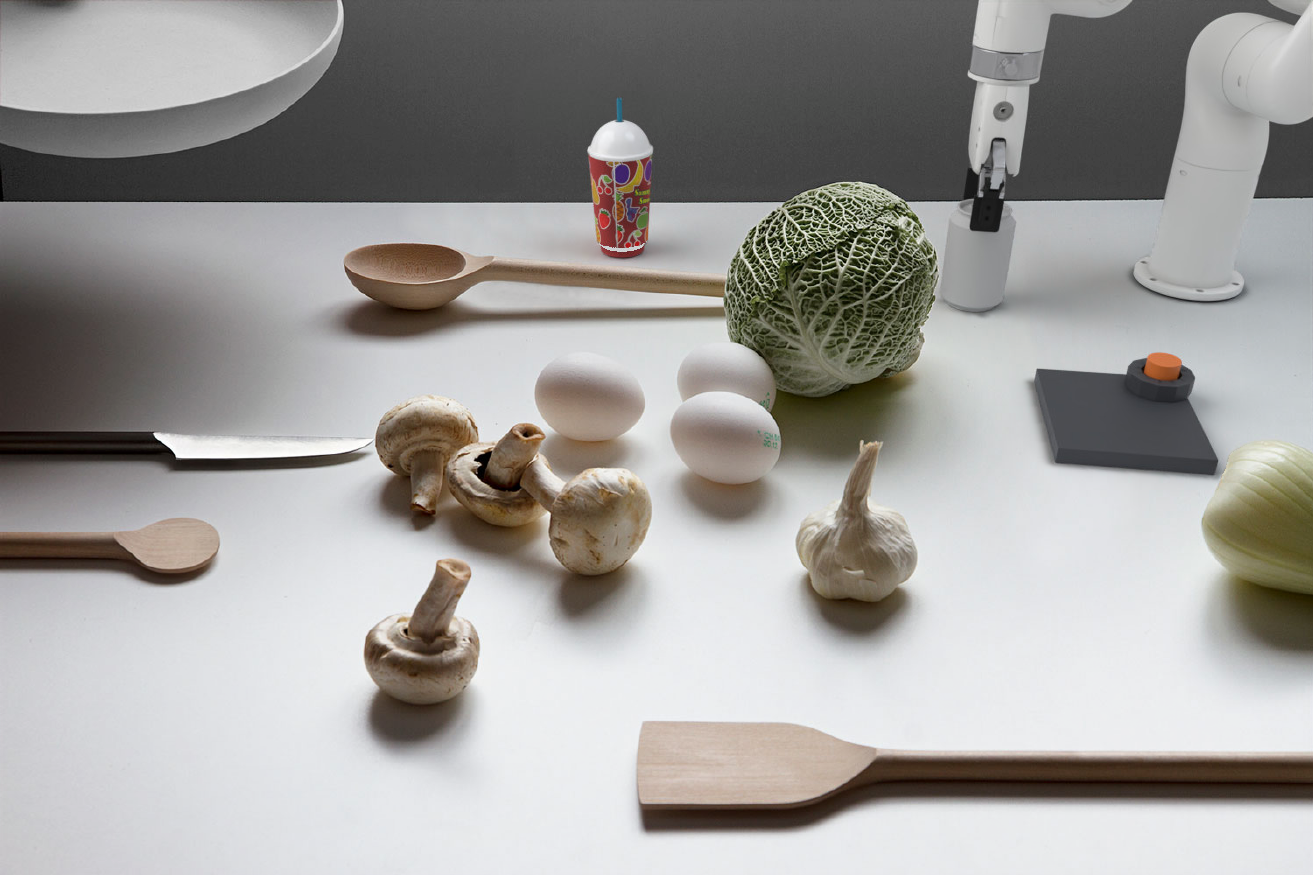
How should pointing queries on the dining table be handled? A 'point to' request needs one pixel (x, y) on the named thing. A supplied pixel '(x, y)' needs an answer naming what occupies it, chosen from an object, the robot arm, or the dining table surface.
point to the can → (976, 261)
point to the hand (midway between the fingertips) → (980, 216)
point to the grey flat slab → (1124, 420)
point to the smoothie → (621, 185)
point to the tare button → (1163, 366)
